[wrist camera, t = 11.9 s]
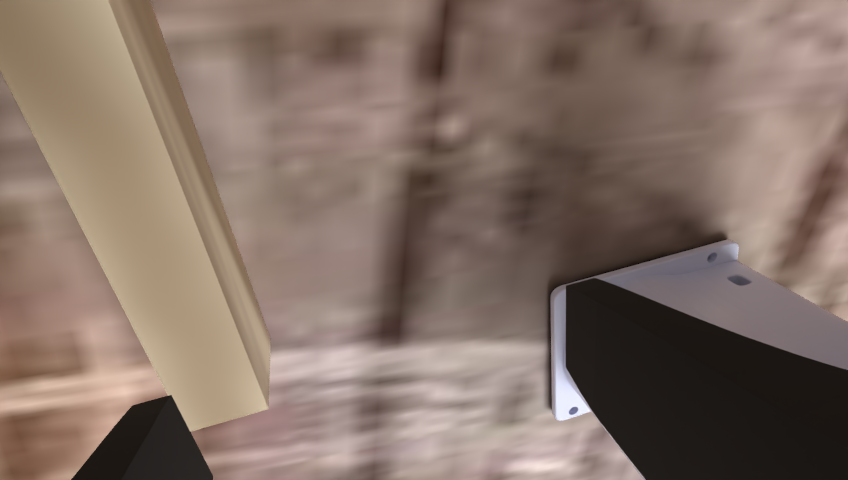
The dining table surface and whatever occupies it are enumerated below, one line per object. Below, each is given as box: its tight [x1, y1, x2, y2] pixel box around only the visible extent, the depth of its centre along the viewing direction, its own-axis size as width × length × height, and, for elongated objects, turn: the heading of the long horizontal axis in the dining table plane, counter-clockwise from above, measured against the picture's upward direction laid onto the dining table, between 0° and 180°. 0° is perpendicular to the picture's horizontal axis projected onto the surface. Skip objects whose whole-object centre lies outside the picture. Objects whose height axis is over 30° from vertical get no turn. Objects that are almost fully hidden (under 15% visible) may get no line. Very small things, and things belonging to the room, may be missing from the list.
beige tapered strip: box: [0, 0, 271, 432], centre depth 13 cm, size 2×16×4 cm, turn 8°
